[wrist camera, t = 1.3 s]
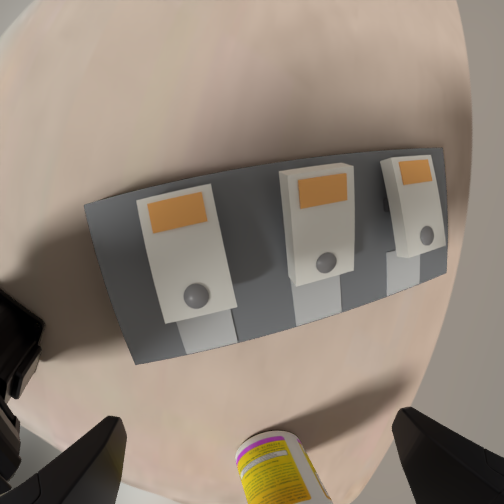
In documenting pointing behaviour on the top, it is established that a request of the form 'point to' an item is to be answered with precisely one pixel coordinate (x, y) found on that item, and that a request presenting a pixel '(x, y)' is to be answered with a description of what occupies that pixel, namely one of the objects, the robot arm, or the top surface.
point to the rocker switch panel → (258, 257)
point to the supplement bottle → (278, 471)
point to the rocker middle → (318, 221)
